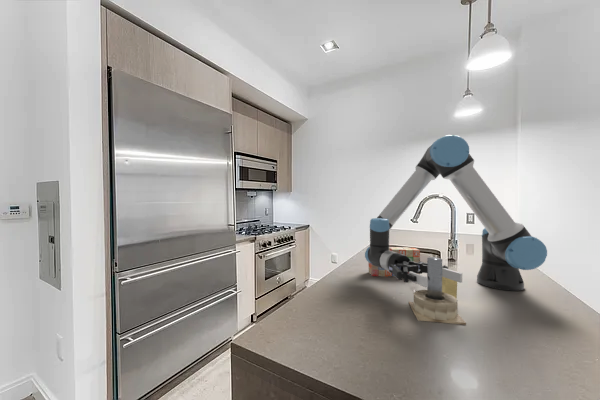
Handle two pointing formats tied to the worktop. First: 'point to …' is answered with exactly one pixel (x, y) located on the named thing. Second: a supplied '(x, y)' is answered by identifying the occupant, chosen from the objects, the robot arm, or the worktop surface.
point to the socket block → (436, 308)
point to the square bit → (449, 286)
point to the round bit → (434, 278)
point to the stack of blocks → (409, 252)
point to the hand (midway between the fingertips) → (444, 280)
